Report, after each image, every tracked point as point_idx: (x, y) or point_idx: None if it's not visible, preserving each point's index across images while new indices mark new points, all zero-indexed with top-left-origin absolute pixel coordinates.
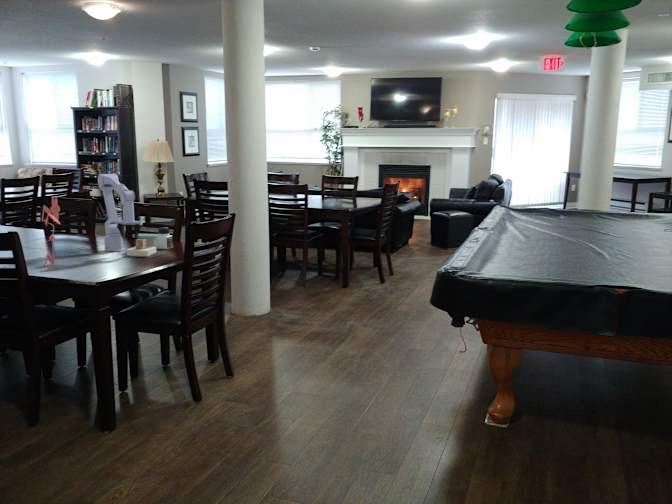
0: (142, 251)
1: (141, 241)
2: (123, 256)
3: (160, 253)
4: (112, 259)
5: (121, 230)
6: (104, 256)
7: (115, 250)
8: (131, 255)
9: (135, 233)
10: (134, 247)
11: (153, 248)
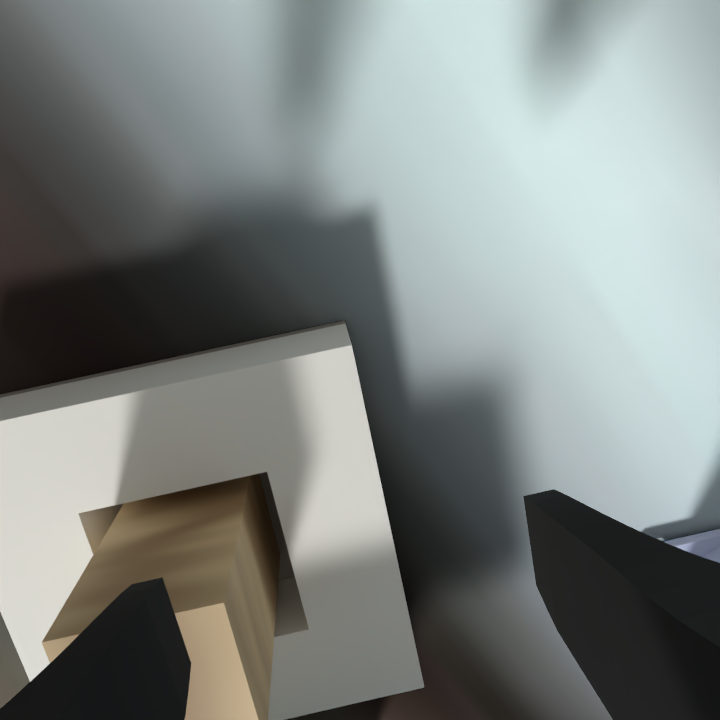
0: (36, 408)
1: (88, 613)
2: (385, 292)
3: (12, 674)
4: (405, 3)
5: (643, 594)
6: (673, 181)
7: (713, 549)
8: (261, 340)
9: (71, 662)
10: (363, 585)
11: (32, 668)
